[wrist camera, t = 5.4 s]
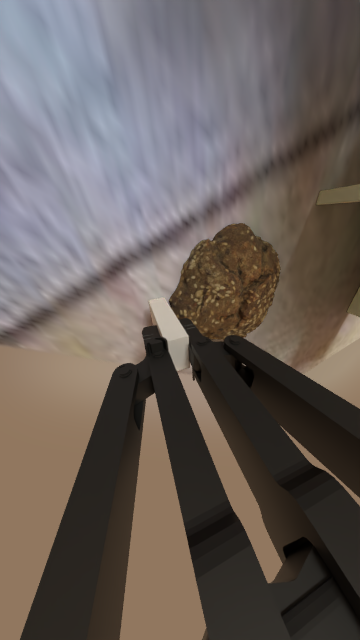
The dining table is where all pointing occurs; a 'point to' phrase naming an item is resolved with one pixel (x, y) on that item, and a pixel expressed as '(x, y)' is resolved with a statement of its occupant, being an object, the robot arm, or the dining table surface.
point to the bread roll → (227, 283)
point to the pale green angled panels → (343, 195)
